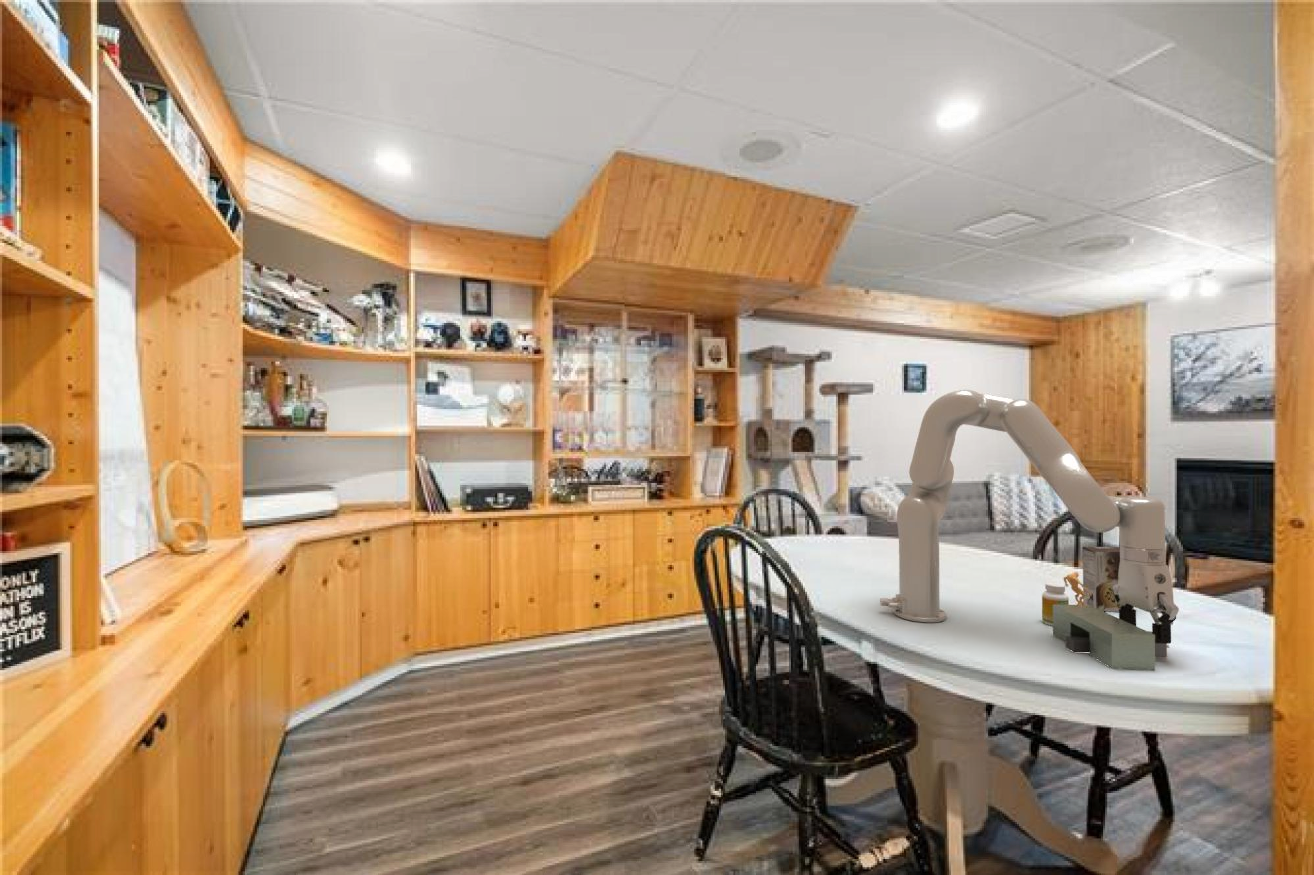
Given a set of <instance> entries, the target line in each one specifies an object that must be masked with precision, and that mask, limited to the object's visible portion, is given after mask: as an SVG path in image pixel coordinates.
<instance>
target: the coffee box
mask: <svg viewBox="0 0 1314 875" xmlns="http://www.w3.org/2000/svg"><path fill="white" fill-rule="evenodd" d="M1119 565H1120V546H1119V547H1118V546H1082V584H1083V585H1084V587H1085V588H1086V589H1087V590H1088V591H1089V592H1090V594H1091V596H1090V595H1089V593H1088V592H1087V591H1086V590H1085V589H1084V588H1083V587H1082V591H1083V592H1084V593H1085V594H1086V595H1085V597H1084V598H1083V599H1082V602H1083V603H1084V604H1087V605H1090V606H1092V607H1094V608H1097V609H1099V610H1101V611H1103V612H1104V611H1108V612H1109V613H1111V612H1112V613H1116V612H1117V613H1119V609H1118V607H1117V601H1116V599H1115V594H1114V591H1113V588H1112V587H1113V586H1114V585H1116V584H1118V573H1119ZM1134 608H1135V607H1134ZM1134 608H1133V609H1134Z"/></svg>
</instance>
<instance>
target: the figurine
mask: <svg viewBox="0 0 1314 875" xmlns="http://www.w3.org/2000/svg"><path fill="white" fill-rule="evenodd" d="M1079 575H1080V574H1079V572H1077V571H1073V573H1070V574H1067V575H1066V576H1064V577H1063V578H1062V579H1063V582H1064V585H1065V587H1067V588H1068V587H1069V586H1071V587H1070V588H1071V589H1072V591H1073V592H1075V595H1074V598H1075V601H1076V602H1077V604H1076V605H1087V604H1084V603H1083V598H1084V597H1085V595H1086V594H1085V593H1084V592H1083V588H1084V589H1085V590H1086V591H1087V592H1088V593H1089V595H1090V596H1091V594H1090V592H1089V591H1088V590H1087V589H1086V588H1085V587H1084V585H1083V582H1081V581H1080V580H1079ZM1068 583H1069V584H1068ZM1079 585H1080V587H1079ZM1081 588H1082V589H1081ZM1080 595H1081V596H1080ZM1079 596H1080V597H1079ZM1078 598H1079V599H1078Z"/></svg>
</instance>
